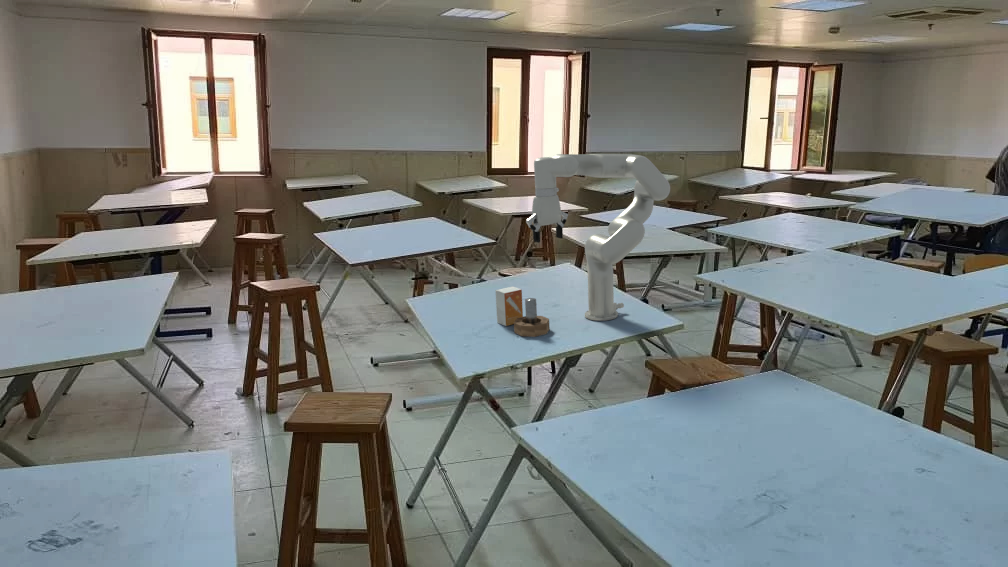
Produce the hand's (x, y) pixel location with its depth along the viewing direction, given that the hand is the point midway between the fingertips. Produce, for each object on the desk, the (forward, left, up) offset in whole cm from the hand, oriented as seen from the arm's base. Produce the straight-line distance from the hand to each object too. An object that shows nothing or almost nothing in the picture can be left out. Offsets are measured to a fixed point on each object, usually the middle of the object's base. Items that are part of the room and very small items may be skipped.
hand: (548, 239), depth 255 cm
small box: (+11, -12, -32) cm, 36 cm away
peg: (+10, +2, -32) cm, 34 cm away
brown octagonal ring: (+10, +2, -32) cm, 34 cm away
